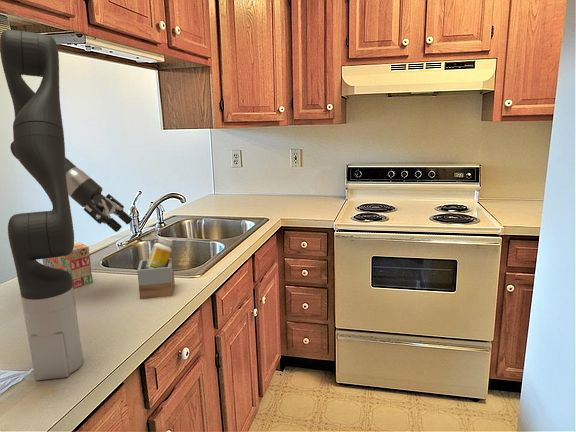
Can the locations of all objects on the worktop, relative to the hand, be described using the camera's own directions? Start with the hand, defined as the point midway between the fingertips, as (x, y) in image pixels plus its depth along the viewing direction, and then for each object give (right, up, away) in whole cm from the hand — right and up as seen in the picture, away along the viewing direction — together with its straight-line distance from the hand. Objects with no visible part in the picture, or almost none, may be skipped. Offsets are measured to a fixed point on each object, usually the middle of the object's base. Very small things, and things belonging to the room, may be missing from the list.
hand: (125, 225), depth 124 cm
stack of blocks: (-25, -18, +16) cm, 35 cm away
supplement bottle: (+8, -13, +3) cm, 15 cm away
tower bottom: (+8, -20, +5) cm, 22 cm away
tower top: (+8, -16, +3) cm, 18 cm away
